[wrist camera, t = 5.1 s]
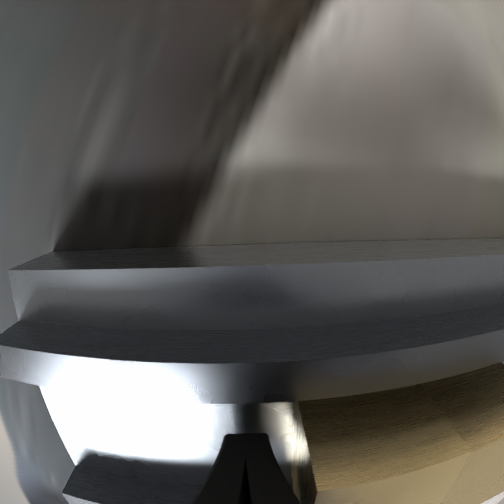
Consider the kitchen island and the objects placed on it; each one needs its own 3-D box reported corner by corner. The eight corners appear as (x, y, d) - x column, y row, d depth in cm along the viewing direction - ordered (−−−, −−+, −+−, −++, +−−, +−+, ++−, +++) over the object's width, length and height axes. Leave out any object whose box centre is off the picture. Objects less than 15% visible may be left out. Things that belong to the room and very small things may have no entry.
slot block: (457, 437, 14) (493, 487, 9) (112, 464, 14) (86, 526, 9) (509, 237, 11) (583, 261, 7) (51, 251, 11) (-27, 286, 7)
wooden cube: (389, 453, 10) (423, 526, 6) (290, 468, 10) (302, 554, 6) (412, 373, 9) (471, 451, 5) (294, 389, 9) (317, 491, 5)
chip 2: (466, 431, 10) (508, 488, 6) (389, 455, 10) (423, 527, 6) (494, 356, 9) (556, 408, 5) (411, 376, 9) (469, 452, 5)
